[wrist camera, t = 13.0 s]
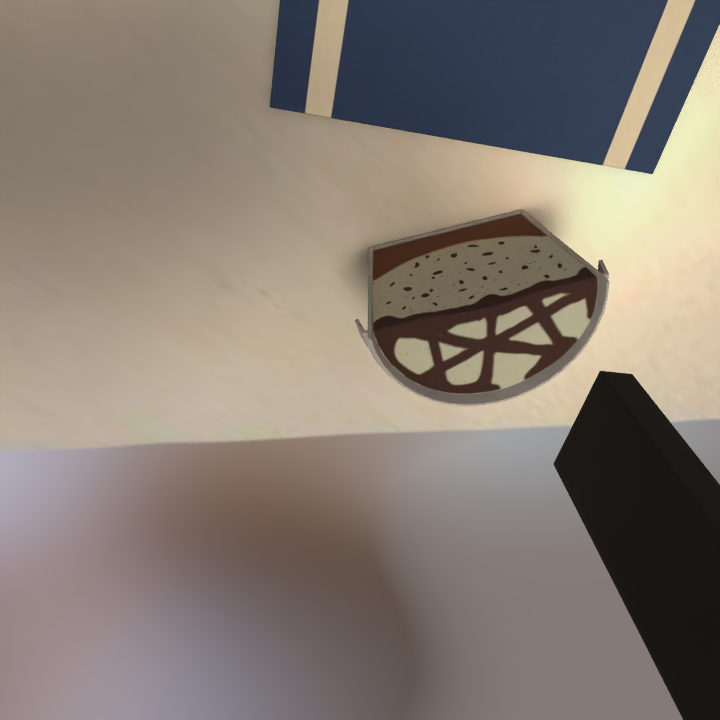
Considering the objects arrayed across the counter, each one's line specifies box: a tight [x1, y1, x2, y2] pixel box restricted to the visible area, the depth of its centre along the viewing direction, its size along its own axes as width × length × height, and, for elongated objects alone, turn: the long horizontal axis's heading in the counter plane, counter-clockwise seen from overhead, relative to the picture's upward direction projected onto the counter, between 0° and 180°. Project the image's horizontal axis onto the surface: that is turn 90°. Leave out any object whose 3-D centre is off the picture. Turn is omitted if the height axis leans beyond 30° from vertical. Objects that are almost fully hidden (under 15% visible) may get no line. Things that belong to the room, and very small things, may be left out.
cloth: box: [270, 0, 720, 174], centre depth 30 cm, size 22×12×1 cm, turn 80°
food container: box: [355, 210, 609, 406], centre depth 34 cm, size 12×6×10 cm, turn 103°
